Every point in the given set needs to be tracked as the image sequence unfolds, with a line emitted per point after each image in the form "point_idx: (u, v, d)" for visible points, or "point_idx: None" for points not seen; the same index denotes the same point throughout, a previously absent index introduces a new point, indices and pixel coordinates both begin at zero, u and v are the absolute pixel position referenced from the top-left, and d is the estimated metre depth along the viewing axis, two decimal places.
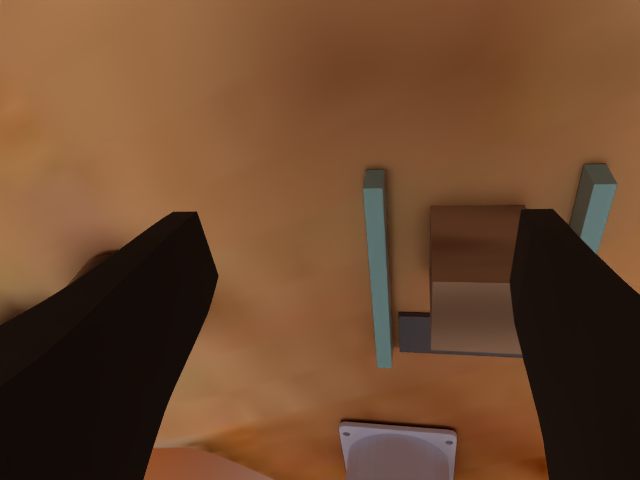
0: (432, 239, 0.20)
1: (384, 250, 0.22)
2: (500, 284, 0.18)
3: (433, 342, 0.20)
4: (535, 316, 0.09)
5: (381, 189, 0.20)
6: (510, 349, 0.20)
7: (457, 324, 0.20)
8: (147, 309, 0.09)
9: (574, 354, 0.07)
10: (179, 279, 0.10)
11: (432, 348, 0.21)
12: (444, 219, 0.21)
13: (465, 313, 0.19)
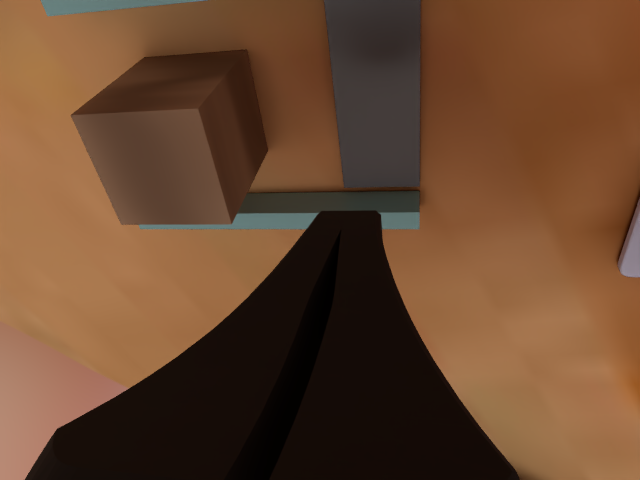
0: None
1: None
2: (94, 162, 0.15)
3: (216, 221, 0.16)
4: None
5: None
6: (196, 135, 0.14)
7: (175, 199, 0.16)
8: (325, 315, 0.09)
9: None
10: None
11: (228, 222, 0.16)
12: None
13: (154, 192, 0.16)
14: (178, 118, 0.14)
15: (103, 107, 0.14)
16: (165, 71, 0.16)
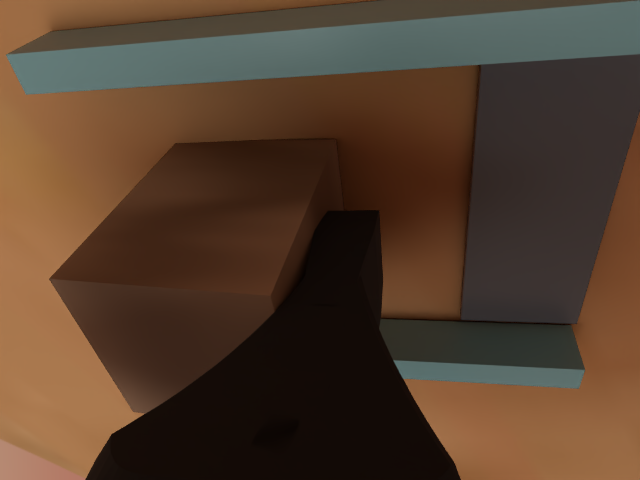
0: None
1: None
2: (90, 339, 0.09)
3: None
4: None
5: None
6: None
7: None
8: None
9: None
10: (373, 283, 0.10)
11: None
12: None
13: (185, 385, 0.10)
14: (233, 305, 0.08)
15: (105, 264, 0.08)
16: (209, 178, 0.10)
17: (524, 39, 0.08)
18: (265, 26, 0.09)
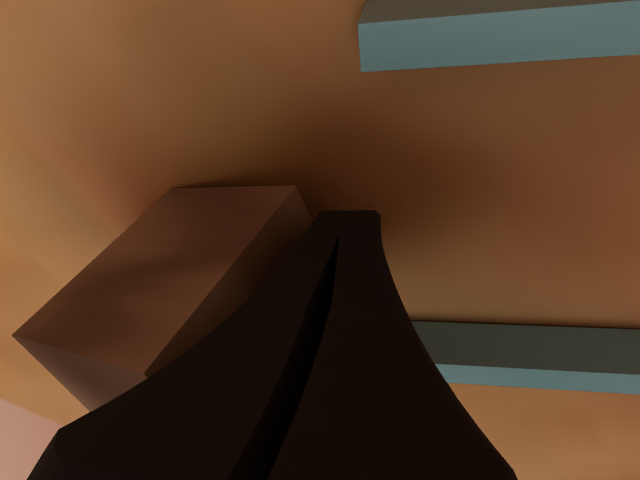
0: None
1: (509, 369, 0.13)
2: (62, 383, 0.10)
3: None
4: None
5: None
6: None
7: None
8: (326, 315, 0.09)
9: None
10: None
11: None
12: None
13: None
14: (125, 376, 0.08)
15: (52, 324, 0.09)
16: (171, 231, 0.11)
17: None
18: None
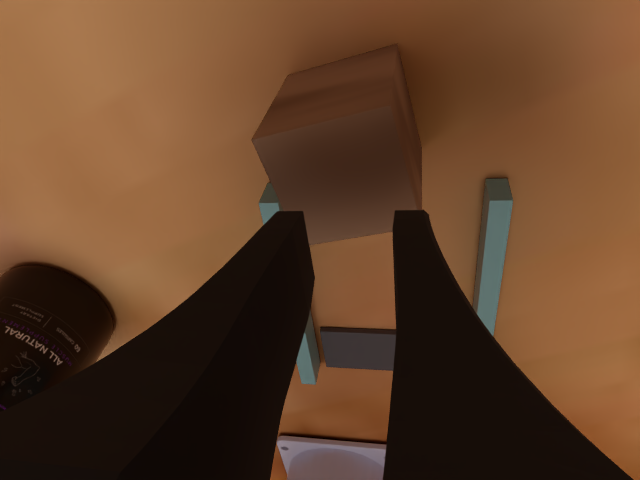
0: (273, 102, 0.16)
1: None
2: (333, 121, 0.13)
3: None
4: (396, 311, 0.09)
5: (277, 204, 0.19)
6: None
7: (312, 200, 0.15)
8: (271, 313, 0.09)
9: None
10: (292, 281, 0.10)
11: None
12: (296, 81, 0.17)
13: (313, 181, 0.14)
14: None
15: (398, 126, 0.13)
16: (406, 108, 0.16)
17: None
18: None
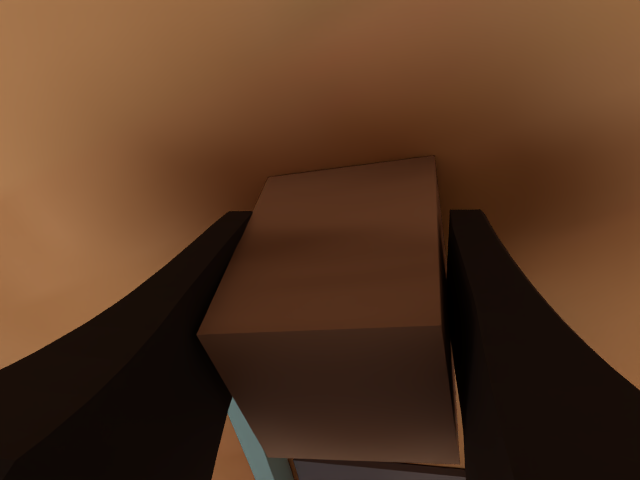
0: (241, 239, 0.10)
1: None
2: (336, 332, 0.08)
3: (264, 444, 0.10)
4: (457, 313, 0.09)
5: None
6: (416, 455, 0.09)
7: (291, 414, 0.09)
8: None
9: (474, 349, 0.07)
10: None
11: (269, 455, 0.10)
12: (280, 199, 0.11)
13: (296, 395, 0.09)
14: (442, 446, 0.09)
15: (445, 339, 0.08)
16: (443, 259, 0.11)
17: None
18: None
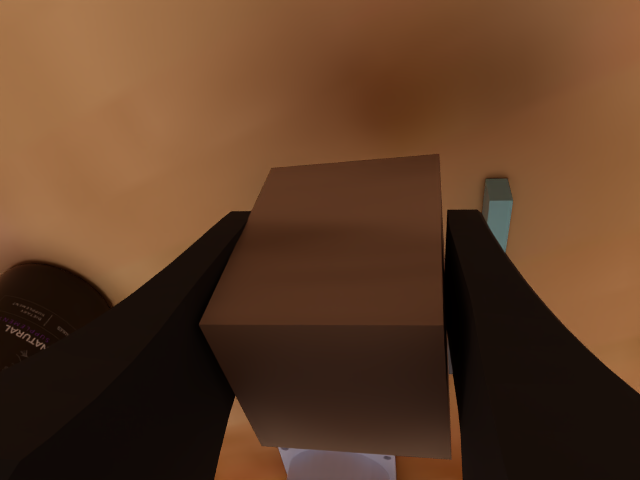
0: (244, 230, 0.10)
1: None
2: (340, 327, 0.08)
3: (259, 434, 0.10)
4: (454, 313, 0.09)
5: None
6: (409, 449, 0.10)
7: (287, 404, 0.09)
8: None
9: (470, 349, 0.07)
10: None
11: (263, 443, 0.11)
12: (283, 190, 0.11)
13: (294, 386, 0.09)
14: (435, 441, 0.09)
15: (444, 339, 0.08)
16: (443, 257, 0.11)
17: None
18: None
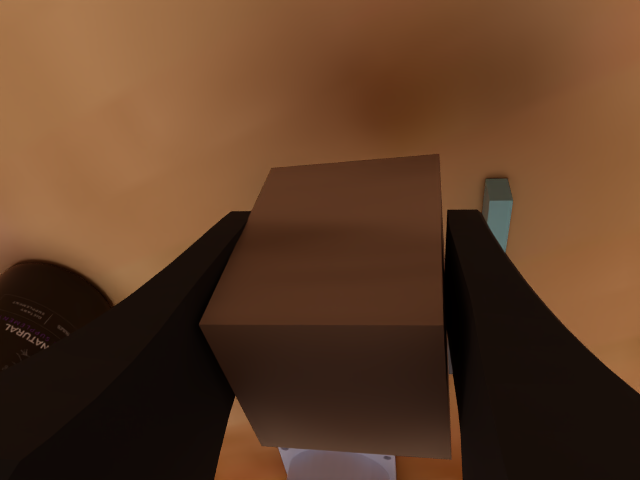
0: (244, 230, 0.10)
1: None
2: (340, 327, 0.08)
3: (259, 434, 0.10)
4: (454, 313, 0.09)
5: None
6: (409, 449, 0.10)
7: (287, 404, 0.09)
8: None
9: (470, 349, 0.07)
10: None
11: (263, 443, 0.11)
12: (283, 190, 0.11)
13: (294, 386, 0.09)
14: (435, 441, 0.09)
15: (444, 339, 0.08)
16: (443, 257, 0.11)
17: None
18: None
